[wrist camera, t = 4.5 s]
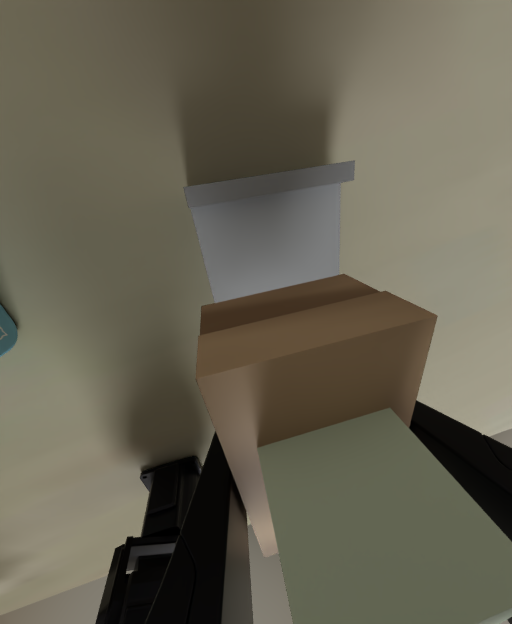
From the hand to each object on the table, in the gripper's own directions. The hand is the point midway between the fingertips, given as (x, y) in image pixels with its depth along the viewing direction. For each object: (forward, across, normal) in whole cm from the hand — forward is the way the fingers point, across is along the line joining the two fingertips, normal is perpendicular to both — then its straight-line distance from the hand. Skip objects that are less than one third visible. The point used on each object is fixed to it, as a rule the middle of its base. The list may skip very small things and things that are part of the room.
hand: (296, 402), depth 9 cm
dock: (+12, -2, -2) cm, 13 cm away
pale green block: (-2, 0, 0) cm, 2 cm away
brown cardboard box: (+1, 0, 0) cm, 1 cm away
